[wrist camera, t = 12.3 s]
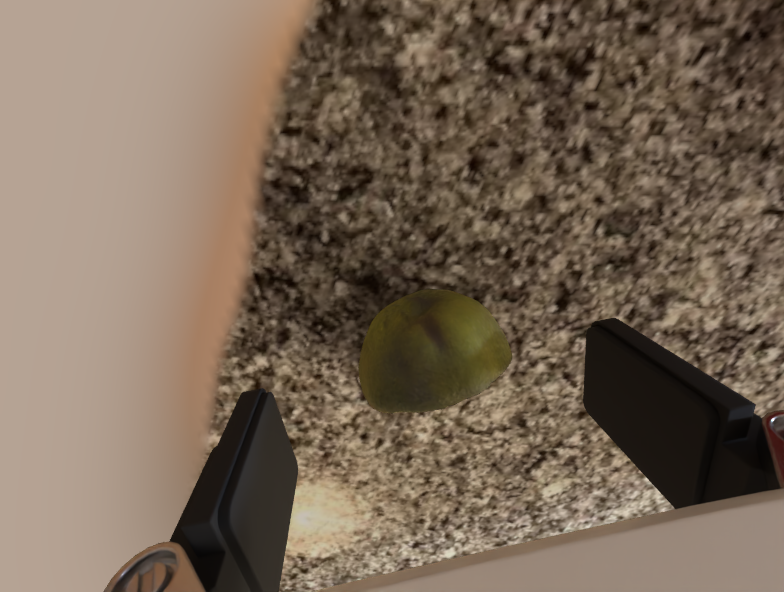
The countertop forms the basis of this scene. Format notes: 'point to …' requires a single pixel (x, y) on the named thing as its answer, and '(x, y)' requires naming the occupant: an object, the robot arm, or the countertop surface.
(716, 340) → the countertop surface
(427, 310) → the lime
